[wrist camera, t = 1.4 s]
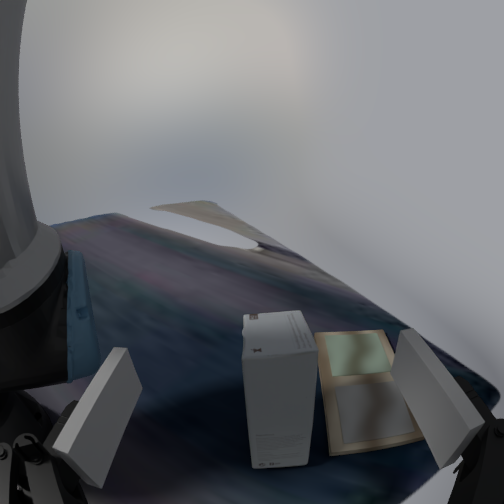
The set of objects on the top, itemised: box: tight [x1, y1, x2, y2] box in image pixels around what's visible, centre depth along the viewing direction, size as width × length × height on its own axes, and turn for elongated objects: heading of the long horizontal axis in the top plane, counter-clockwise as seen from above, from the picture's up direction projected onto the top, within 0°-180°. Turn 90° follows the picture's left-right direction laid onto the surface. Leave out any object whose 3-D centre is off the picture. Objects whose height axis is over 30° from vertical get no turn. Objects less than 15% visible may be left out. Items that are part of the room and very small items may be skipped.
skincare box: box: [242, 311, 319, 468], centre depth 24 cm, size 8×6×15 cm
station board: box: [314, 330, 425, 456], centre depth 33 cm, size 12×22×1 cm, turn 176°
